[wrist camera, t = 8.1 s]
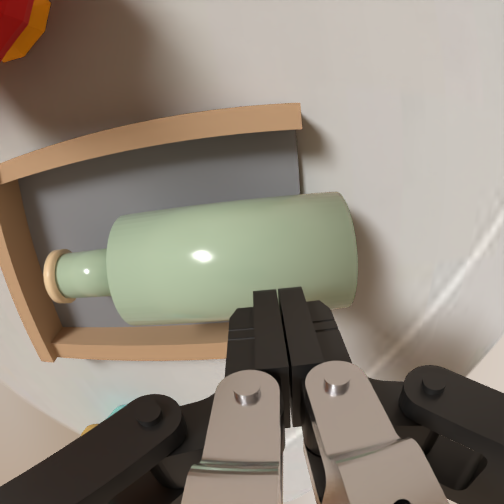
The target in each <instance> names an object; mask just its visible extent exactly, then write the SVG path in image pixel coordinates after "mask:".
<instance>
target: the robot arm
mask: <svg viewBox="0 0 504 504" xmlns="http://www.w3.org/2000/svg"><path fill="white" fill-rule="evenodd" d="M278 302H279V303H278ZM290 409H291V416H292V424H293V427H299V426H302V431H303V437H304V441H303V451H304V455H305V459H306V463H307V467H308V471H309V475H310V479H311V483H312V487H313V491H314V495H315V499H316V503H317V504H449V502H448V500H447V499H449V500H451V501H453V502H456V503H457V504H504V393H501V392H499V391H497V390H494V389H492V388H490V387H487V386H485V385H483V384H480V383H478V382H476V381H473V380H471V379H468V378H466V377H464V376H461V375H459V374H457V373H454V372H452V371H450V370H447V369H445V368H442V367H439V366H433V365H426V366H421V367H418V368H415V369H413V370H412V371H411V372H410V373H409V374H408V375H407V376H406V378H405V381H404V382H396V381H380V380H375V379H371V378H368V377H367V376H366V374H365V372H364V371H363V370H362V369H361V368H359V367H358V366H356V365H354V364H352V362H351V359H350V357H349V354H348V352H347V349H346V347H345V344H344V342H343V339H342V337H341V334H340V332H339V330H338V327H337V324H336V322H335V321H334V317H333V314H332V312H331V310H330V308H329V307H328V306H326V305H325V304H324V303H323V302H321V301H320V300H316V301H307V302H306V299H305V296H304V293H303V290H302V287H301V286H299V287H289V288H279V289H278V297H277V291H276V289H269V290H259V291H253V307H246V308H237V309H236V310H235V312H234V313H233V314H232V316H231V317H230V318H229V332H228V342H227V355H226V368H225V378H224V379H223V380H222V381H221V382H220V383H219V384H218V386H217V388H216V391H215V393H214V394H213V395H211V396H210V397H208V398H206V399H204V400H201V401H198V402H194V403H191V404H187V405H183V406H179V405H178V403H177V402H176V401H175V400H173V399H172V398H170V397H168V396H165V395H160V394H150V395H145V396H142V397H139V398H137V399H135V400H133V401H132V402H130V403H129V404H127V405H126V406H125V407H123V408H122V409H120V410H119V411H117V412H116V413H114V414H113V415H112V416H110V417H109V418H107V419H106V420H104V421H103V422H101V423H100V424H98V425H97V426H95V427H94V428H92V429H91V430H90V431H88V432H87V433H85V434H84V435H82V436H81V437H79V438H78V439H76V440H75V441H73V442H71V443H70V444H69V445H67V446H65V447H64V448H63V449H61V450H59V451H58V452H56V453H54V454H53V455H51V456H50V457H49V458H47V459H45V460H44V461H42V462H40V463H39V464H37V465H35V466H34V467H32V468H31V469H29V470H27V471H26V472H24V473H22V474H21V475H19V476H18V477H16V478H14V479H12V480H11V481H9V482H7V483H6V484H4V485H2V486H1V487H0V504H283V451H284V448H285V428H290ZM450 439H451V440H450ZM452 440H453V441H452ZM454 441H455V442H454ZM469 448H470V449H469Z"/></svg>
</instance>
